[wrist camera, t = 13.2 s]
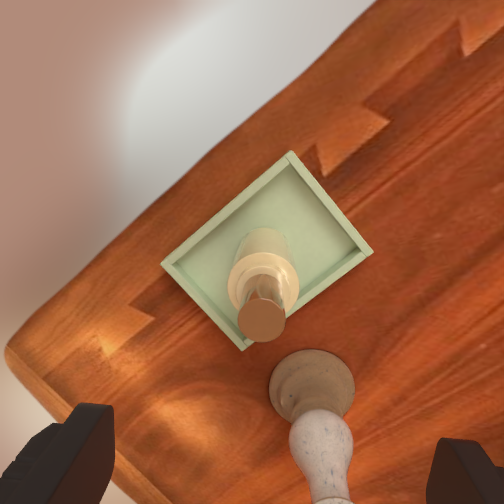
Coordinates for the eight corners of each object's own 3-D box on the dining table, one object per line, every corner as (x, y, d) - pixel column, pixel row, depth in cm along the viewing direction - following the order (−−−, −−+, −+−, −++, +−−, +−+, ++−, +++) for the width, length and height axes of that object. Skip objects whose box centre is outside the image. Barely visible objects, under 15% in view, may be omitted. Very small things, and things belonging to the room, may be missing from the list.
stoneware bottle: (239, 224, 35) (219, 274, 21) (295, 229, 35) (312, 282, 21) (235, 278, 37) (214, 357, 23) (289, 282, 37) (301, 365, 23)
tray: (290, 149, 34) (291, 149, 32) (368, 246, 36) (374, 252, 34) (165, 257, 37) (159, 264, 35) (243, 341, 39) (241, 352, 37)
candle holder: (370, 378, 40) (469, 603, 20) (318, 435, 42) (361, 688, 22) (303, 332, 39) (337, 521, 19) (252, 392, 41) (236, 619, 21)
